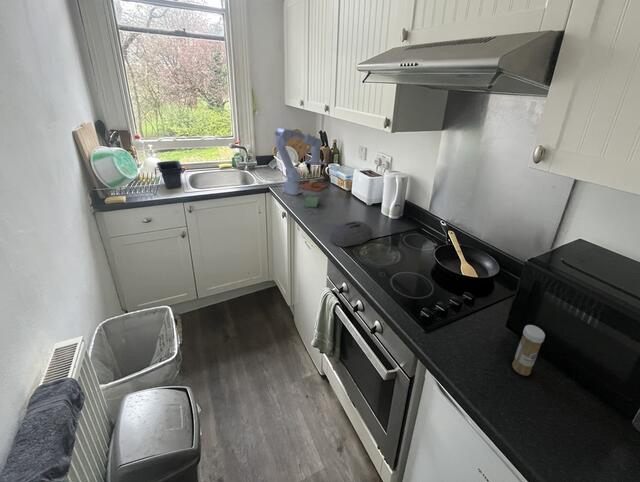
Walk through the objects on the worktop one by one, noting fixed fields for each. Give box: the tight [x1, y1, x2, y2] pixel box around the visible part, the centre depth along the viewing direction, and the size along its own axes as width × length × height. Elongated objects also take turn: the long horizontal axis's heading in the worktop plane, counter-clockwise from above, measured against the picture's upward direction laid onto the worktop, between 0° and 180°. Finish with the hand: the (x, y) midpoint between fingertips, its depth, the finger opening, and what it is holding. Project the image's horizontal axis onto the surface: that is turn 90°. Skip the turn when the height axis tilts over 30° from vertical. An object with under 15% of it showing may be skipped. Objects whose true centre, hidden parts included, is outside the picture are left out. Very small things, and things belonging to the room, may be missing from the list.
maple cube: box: [309, 179, 318, 187], centre depth 214 cm, size 4×4×4 cm
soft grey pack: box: [330, 220, 373, 248], centre depth 142 cm, size 15×8×20 cm
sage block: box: [304, 195, 319, 208], centre depth 182 cm, size 7×7×4 cm
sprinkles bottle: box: [511, 324, 546, 376], centre depth 78 cm, size 5×5×13 cm
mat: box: [299, 181, 328, 193], centre depth 215 cm, size 16×14×1 cm
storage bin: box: [154, 160, 183, 190], centre depth 200 cm, size 21×16×14 cm
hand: (315, 174), depth 207 cm, fingers open, 7 cm apart
